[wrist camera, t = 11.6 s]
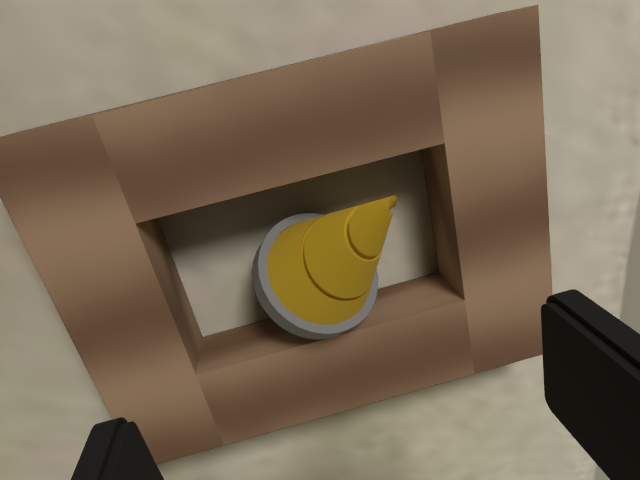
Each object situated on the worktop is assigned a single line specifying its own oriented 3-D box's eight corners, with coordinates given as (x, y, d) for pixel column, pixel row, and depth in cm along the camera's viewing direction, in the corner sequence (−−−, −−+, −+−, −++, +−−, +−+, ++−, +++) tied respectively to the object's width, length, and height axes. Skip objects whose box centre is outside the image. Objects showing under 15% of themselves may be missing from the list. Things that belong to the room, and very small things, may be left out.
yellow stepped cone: (220, 263, 22) (285, 137, 14) (316, 236, 25) (419, 116, 16) (262, 371, 21) (362, 304, 12) (359, 331, 23) (496, 252, 15)
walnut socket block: (15, 132, 19) (-27, 144, 16) (496, 13, 19) (538, 4, 17) (150, 422, 24) (137, 470, 21) (521, 319, 25) (555, 350, 22)
